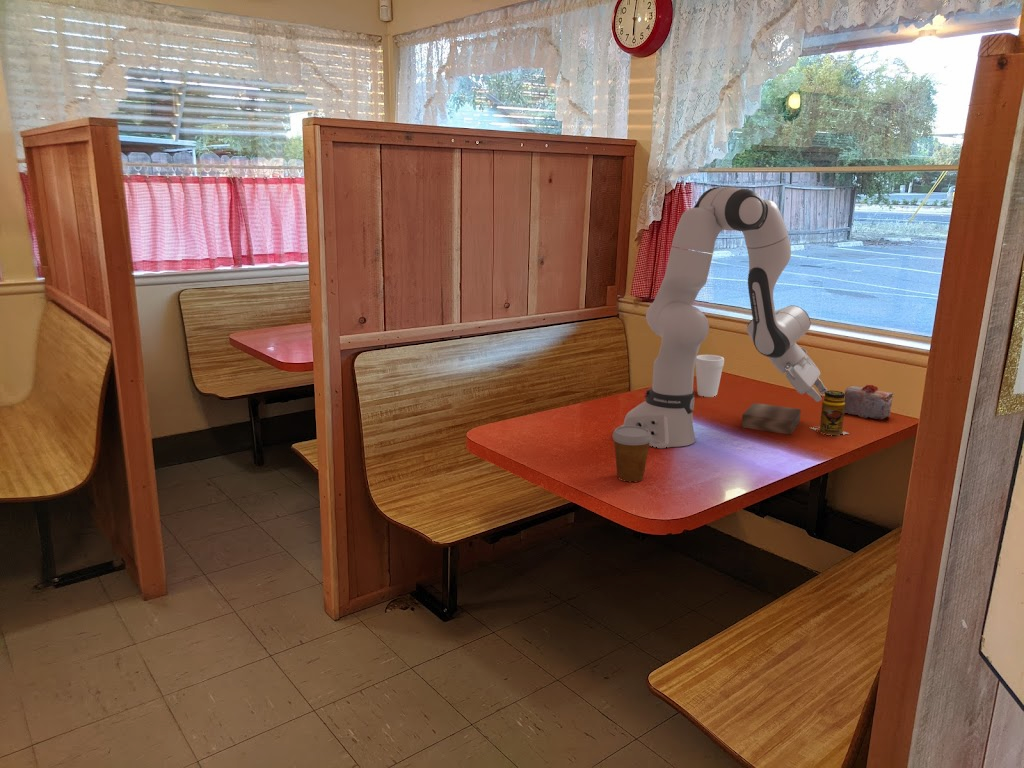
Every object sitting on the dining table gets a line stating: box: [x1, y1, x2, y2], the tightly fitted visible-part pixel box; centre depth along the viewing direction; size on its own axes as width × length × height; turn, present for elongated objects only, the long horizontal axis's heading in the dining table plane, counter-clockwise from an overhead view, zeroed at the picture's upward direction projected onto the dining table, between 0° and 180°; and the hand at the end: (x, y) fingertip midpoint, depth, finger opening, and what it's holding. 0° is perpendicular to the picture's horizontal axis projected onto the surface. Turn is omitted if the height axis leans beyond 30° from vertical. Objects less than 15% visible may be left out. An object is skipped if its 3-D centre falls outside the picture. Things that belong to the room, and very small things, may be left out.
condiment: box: [809, 389, 850, 437], centre depth 217 cm, size 7×8×12 cm
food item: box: [844, 384, 895, 420], centre depth 232 cm, size 14×8×10 cm, turn 51°
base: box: [741, 402, 802, 436], centre depth 224 cm, size 14×14×4 cm
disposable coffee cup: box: [611, 425, 652, 483], centre depth 182 cm, size 10×10×12 cm
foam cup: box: [695, 354, 725, 398], centre depth 255 cm, size 10×9×13 cm
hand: (822, 396), depth 217 cm, fingers open, 8 cm apart
